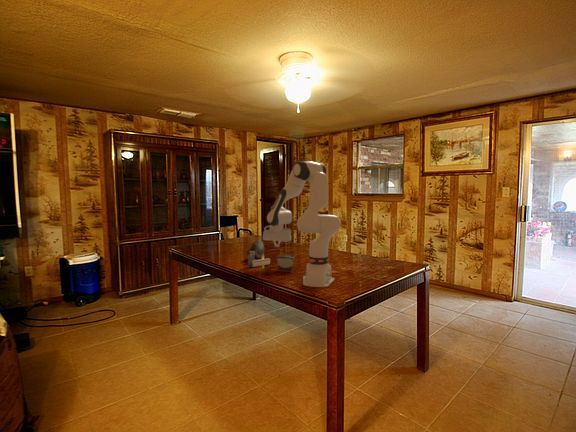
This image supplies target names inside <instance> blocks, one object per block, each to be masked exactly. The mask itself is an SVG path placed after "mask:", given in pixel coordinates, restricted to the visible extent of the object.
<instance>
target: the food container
mask: <svg viewBox="0 0 576 432" xmlns="http://www.w3.org/2000/svg"><path fill="white" fill-rule="evenodd" d="M275 259H276V261H277V263H276V264H277V270H278V272H291V273H292V272H293V266H294V260H295V257H294V255H292V254H278V255H276V258H275Z"/></svg>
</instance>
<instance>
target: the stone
mask: <svg viewBox="0 0 576 432" xmlns="http://www.w3.org/2000/svg"><path fill="white" fill-rule="evenodd" d="M250 251H255V252H254V253H255V259H256V260H260V258H261V257H262V255H264V252H265V245H264V243H263V241H261V240H259V239H257V240H255V241H254V242H253V243H252V244H251V246H250V248H249V249H248V250H247V252H246V254H247V255H249V254H250Z"/></svg>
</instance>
